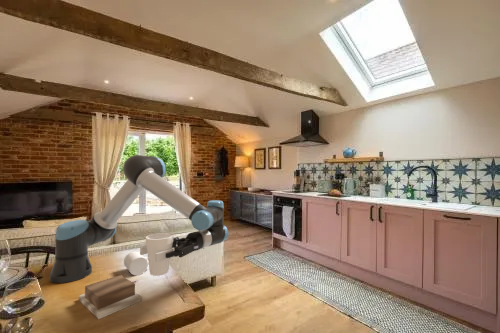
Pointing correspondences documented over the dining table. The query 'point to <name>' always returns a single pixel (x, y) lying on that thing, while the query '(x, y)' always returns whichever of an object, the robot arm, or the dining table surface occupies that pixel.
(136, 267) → the mug
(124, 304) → the build base
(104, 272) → the dining table surface
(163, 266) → the foam cup
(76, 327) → the dining table surface
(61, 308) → the dining table surface
